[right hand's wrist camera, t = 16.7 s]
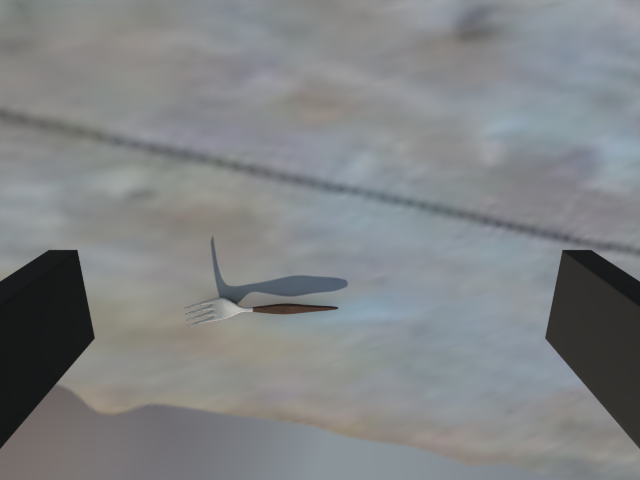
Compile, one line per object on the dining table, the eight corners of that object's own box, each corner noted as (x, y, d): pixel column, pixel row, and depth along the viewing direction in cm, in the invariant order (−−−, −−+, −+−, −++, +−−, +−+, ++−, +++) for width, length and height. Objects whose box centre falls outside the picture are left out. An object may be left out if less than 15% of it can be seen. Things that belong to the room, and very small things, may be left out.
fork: (337, 316, 49) (338, 326, 47) (191, 319, 49) (186, 328, 48) (337, 295, 48) (338, 303, 46) (188, 297, 48) (183, 306, 47)
